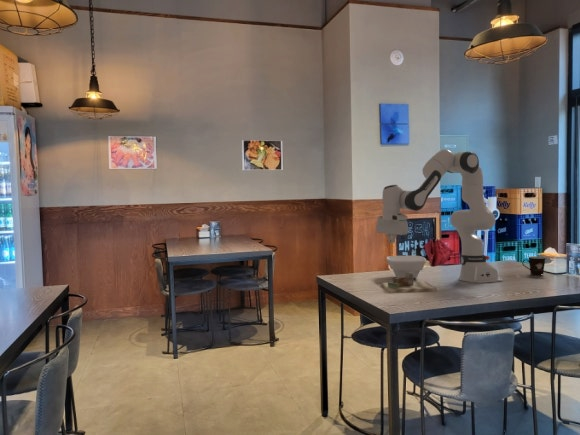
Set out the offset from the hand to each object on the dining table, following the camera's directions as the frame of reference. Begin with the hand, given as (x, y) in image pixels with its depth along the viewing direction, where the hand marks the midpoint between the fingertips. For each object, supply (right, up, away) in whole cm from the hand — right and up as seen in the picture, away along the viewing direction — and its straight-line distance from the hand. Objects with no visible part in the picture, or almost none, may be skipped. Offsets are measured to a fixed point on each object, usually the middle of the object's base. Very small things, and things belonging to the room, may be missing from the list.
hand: (391, 242), depth 244 cm
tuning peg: (+6, -22, -2) cm, 23 cm away
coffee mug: (+89, -20, +29) cm, 96 cm away
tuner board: (+8, -24, -1) cm, 25 cm away
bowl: (+14, -22, +28) cm, 38 cm away
